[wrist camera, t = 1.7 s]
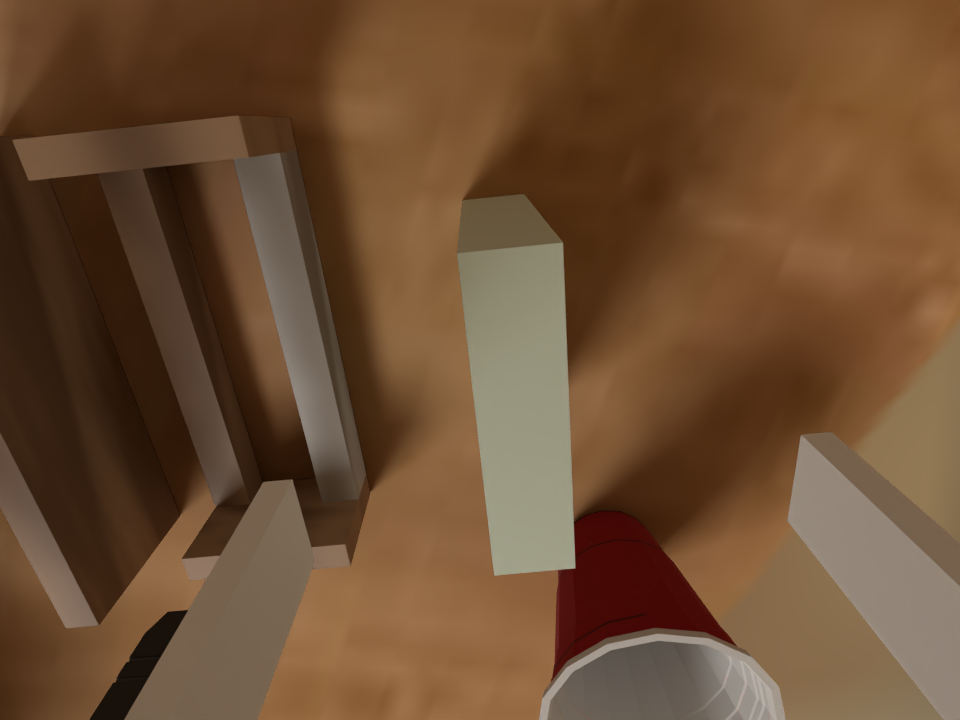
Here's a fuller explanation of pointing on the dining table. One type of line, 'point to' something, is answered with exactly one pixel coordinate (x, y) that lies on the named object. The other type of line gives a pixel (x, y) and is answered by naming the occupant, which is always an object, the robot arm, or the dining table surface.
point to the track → (183, 345)
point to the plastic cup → (644, 638)
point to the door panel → (519, 380)
